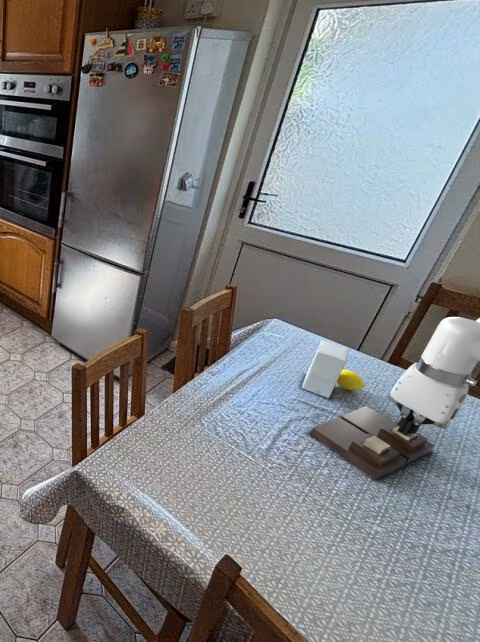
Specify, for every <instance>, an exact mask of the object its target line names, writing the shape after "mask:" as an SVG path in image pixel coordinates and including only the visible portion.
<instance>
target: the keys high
mask: <svg viewBox="0 0 480 642" xmlns="http://www.w3.org/2000/svg"><path fill="white" fill-rule="evenodd" d="M309 435H310V436H312V437H313V438H315V439H316V440H317V441H319V442H321V443H322V444H323V445H325V446H326V447H328V448H329V449H331V450H332V451H334V452H335V453H336V454H338V455H339V456H341V457H342V458H344V459H345V460H346V461H348V462H350V463H351V464H352V465H354V466H355V467H357V468H358V469H360V470H361V471H363V472H364V473H365V474H367V475H368V476H369V477H371V478H373V479H374V480H377V479H380V478H381V477H384V476H385V475H387V474H390V473H391V472H393V471H396V470H398V469H399V468H401V467H403V466H404V465H405V464H404V463H405V461H406V460H407V459H406V458H404V457H402V456H401V455H399V454H400V453H399V452H397V451H396V450H394V449H393V448H391V447H390V448H389V450H388V451H387V452H385V453H383V454H381V455H379V454H377V453H376V452H374V451H372V450H371V449H369V448H368V447H366V446H365V445H363V443H364V442H365V440H366V439H368V438H370V437H372V435H370V434H365V433H364V432H362V431H361V430H359V429H357V428H356V427H354V426H353V425H351V424H349V423H348V422H346V421H345V420H343V419H341V416H338V417H335V418H333V419H331V420H328V421H325V422H323V423H321V424H318V425H316V426H313V427H312V429H311V431H310V433H309Z"/></svg>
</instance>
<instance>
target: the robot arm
mask: <svg viewBox="0 0 480 642" xmlns="http://www.w3.org/2000/svg"><path fill="white" fill-rule="evenodd" d="M478 362H480V317H478V319H476V320H474V319H471V318H465V317H461V316H460V317H459V316H449V317H446V318H444V319H442V320H441V321H440V322H439V323H438V325H437V327H436V328H435V331H434V333H433V334H432V336H431V338H430V340H429V341H428V343H427V345H426V347H425V348H424V350H423V353H422V354H421V356H420V358H419V359H418V361H417V362H414V363H413V364H411V365H410V366H409V367H408V368H407V369H406V370H405V372H404V373H402V375H401V376H400V378H398V379H397V381H396V383H395V384H394V386H393V387H392V389H391V391H390V394H388V396H387V399H388V401H390V402H392V404H394V405H396V407H397V409H398V410H399V414H400V419H399V421H398V422H399V423H398V424H397V425H398V426H400V427H399V428H398V430H397V431H398V432H401V433H403V435H405V436H406V435H408V434H410V433H412V434H415V433H418V431H419V429H420V428H421V426H422V425H433V426H435V427H437V428H440V429H443V430H447V429H448V428H450V426H451V422H452V420H454V419H455V418H457V416H459V415H458V414H459V413H460V411H461V409H462V408H463V405H464V403H465V400H466V398H467V395H468V393H469V388H470V386H472V387H475V386H476V385H477V383H478V380H476V379H474V378H473V377H472V374H473V370H474V369H475V367H476V365H477V364H478ZM415 413H417V414H418V415H417V416H416V417H415V415H414V414H415Z"/></svg>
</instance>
